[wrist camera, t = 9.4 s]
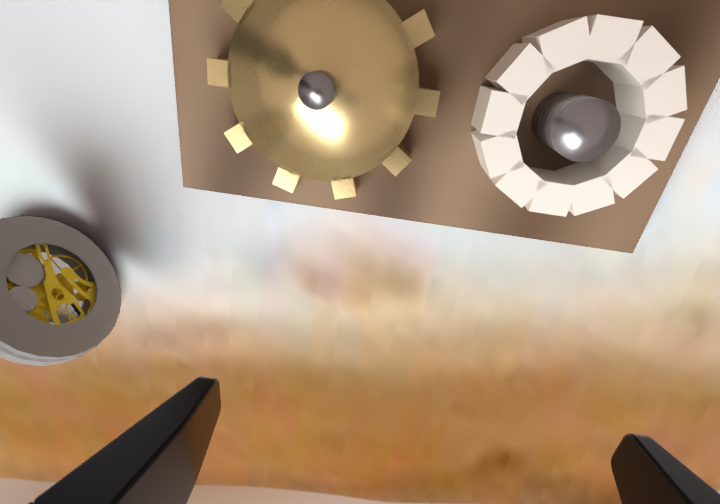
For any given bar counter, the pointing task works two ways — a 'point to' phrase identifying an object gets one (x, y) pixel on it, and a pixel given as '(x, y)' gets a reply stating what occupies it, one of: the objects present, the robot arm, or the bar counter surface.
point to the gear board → (450, 117)
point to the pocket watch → (53, 292)
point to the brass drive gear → (324, 86)
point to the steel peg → (576, 125)
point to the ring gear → (633, 101)
